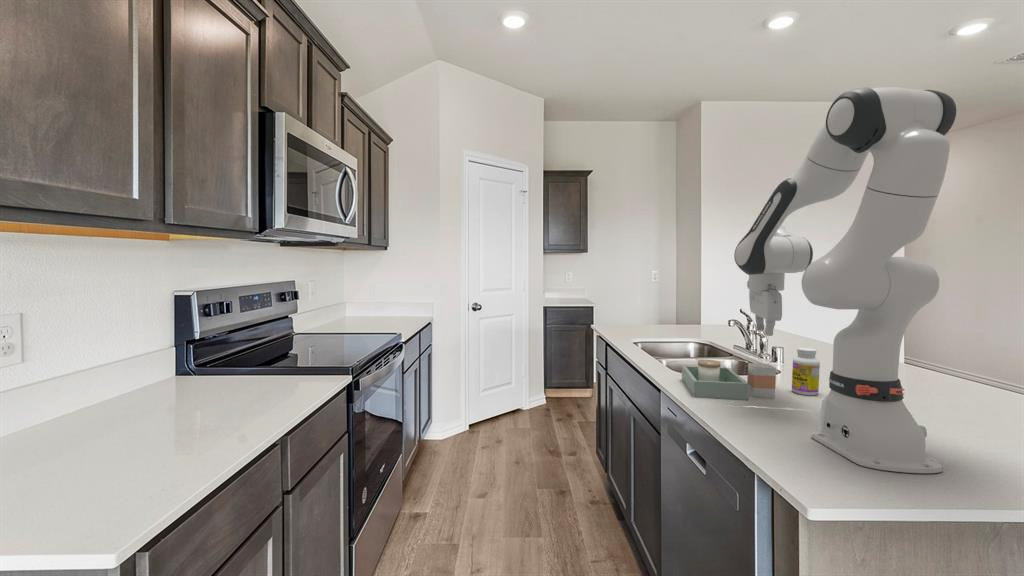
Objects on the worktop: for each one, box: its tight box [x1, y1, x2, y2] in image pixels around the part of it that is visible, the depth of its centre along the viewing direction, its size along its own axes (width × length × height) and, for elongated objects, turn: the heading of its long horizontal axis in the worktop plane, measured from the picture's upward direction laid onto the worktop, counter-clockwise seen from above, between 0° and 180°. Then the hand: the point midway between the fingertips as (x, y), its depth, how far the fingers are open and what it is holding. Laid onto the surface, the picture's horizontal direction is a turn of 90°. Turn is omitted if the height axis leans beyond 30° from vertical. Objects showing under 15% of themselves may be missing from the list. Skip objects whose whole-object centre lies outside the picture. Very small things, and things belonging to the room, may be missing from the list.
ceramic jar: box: [697, 359, 722, 382], centre depth 144 cm, size 6×6×7 cm
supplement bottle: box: [791, 347, 821, 396], centre depth 137 cm, size 7×7×13 cm
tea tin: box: [746, 362, 777, 399], centre depth 133 cm, size 6×6×9 cm
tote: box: [681, 365, 749, 401], centre depth 139 cm, size 20×14×5 cm
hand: (764, 332), depth 134 cm, fingers open, 8 cm apart
